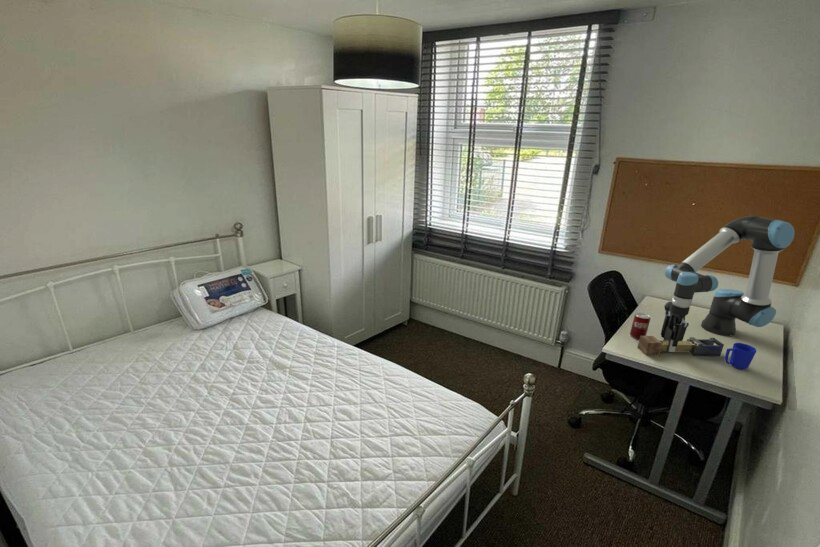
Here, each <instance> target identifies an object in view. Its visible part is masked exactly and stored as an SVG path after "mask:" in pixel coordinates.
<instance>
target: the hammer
mask: <svg viewBox="0 0 820 547" xmlns="http://www.w3.org/2000/svg"><path fill="white" fill-rule="evenodd" d="M673 334H674V327H667V329H666V333H665V336H664V338H663V339H662V340H659V341H660V342H661V343H662V346H661V349H660V352H669V351H668V349H669V346H670V342H671V339H673ZM695 345H697V344H695V343H694V342H693V341H687V340H683V341H678V344H677V346H676V349H675V352H677V353H678V352H679V353H681V352H682V353H683V352H684V353H685V352H686V353H689V352H693V350H694V347H695ZM703 345H704V344H703ZM675 352H674V353H675Z"/></svg>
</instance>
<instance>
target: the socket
mask: <svg viewBox="0 0 820 547" xmlns="http://www.w3.org/2000/svg"><path fill="white" fill-rule="evenodd" d="M660 341H661V340H659V339H658V338H657V337H655V335H646V336H640V339H638V344H637V349H638V350H639V351H640V352H642V353H643V355H645V356H659V355H660V352H661V351H660V349H661V346H662V343H661V342H660Z"/></svg>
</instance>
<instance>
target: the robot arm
mask: <svg viewBox="0 0 820 547" xmlns="http://www.w3.org/2000/svg"><path fill="white" fill-rule="evenodd" d="M718 231H719V232H718V233H717V234H716V235H714V236H713V237H712V238H711V239H709V240H707V242H706V243H705V244H703V245H702V246H700V247H699V248H698V249H697V250H695V251H694V252H693V253H691V254H690V255H689V256H688V257H686V258H685V259H684V260H683V261H681V262H680V263H679V264H669V265H668V266H667V267H666V268H665V271H664V276H665V278H667V279H669V280H670V281H672V282H675V283H676V284H675V288H674V292H673V295H672V299H671V301H672V303H671V305H670V309H669V310H670V312H666V311H665V317H664V319H665V320H663V323H664V324H663V323H662V327H663V329H662V328H661V330H663V331H664V333H666V329H667V327H674V334H673V339H671V342H670V346H669V349H668V351H669V352H670V353H675V349H676V346H677V344H678V341H684V337H685V334H686V330H687V329H688V327H689V326H690V324H689V322H687V321H686V316H688V315H689V312H690V307H691V306H692V304H693V299H694V295H695V294H697V293H708V292H713V291H714V295H713V298H712V301H711V305H710V307H709V311H708V313H707V315H706V316H705V318H704V319H703V320H702V321H701V323H700V327H701V328H702V329H704V330H706V331H707V332H710V333H712V334H715V335H719V336H726V337H729V336H730V335H732V336H734V335H735V334H736V332H737V327H736V320H739V321H741V322H744V323H746V324H748V325H750V326H754V327H756V328H762V327H766V326H767V325H769V324H770V323H771V322H773V320H774V318H775V316H776V314H777V309H776V308H775V307H774V306H772V303H773V301H772V299H771V298H770V293H771V289H772V283H773V279H774V275H775V270H776V266H777V261H778V256H779V253H780V252H782V251H784V249H785V248H787V247H789V246H790V245H791V244H792V242H793V240H794V238H795V229H794V226H793V225H792V224H791V223H790V222H787V221H784V220H781V219H774V218H769V217H764V216H759V215H758V216H757V215H747V216H746V215H745V216H742V217H740V218H737V219H734V220H732V221H730V222H728V223H726V224H725V225H724V226H723V227H721V228H720V229H719V230H718ZM742 240H746V241H750V242H751V244H750V246H751V249H752V250H753V256H752V261H751V266H750V271H749V275H748V281H747V285H746V292H745V293H744V292H743V291H741V290H739V289H738V290H737V289H732V288H718V287H719V281H718V278H717V277H715V276H714V275H709V274H706V275H704V274H701V273H698V271H699V270H701V269H702V268H703V267H704V266H706V265H707V264H708V263H710V262H711V261H712V260H713V259H714V258H716V257H717V256H718V255H720V254H721V253H723V252H724V251H725V250H726V249H727V248H729V247H730V246H731V245H732V244H737V243H739V242H740V241H742ZM664 336H665V335H664ZM668 351H667V352H668Z"/></svg>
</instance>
